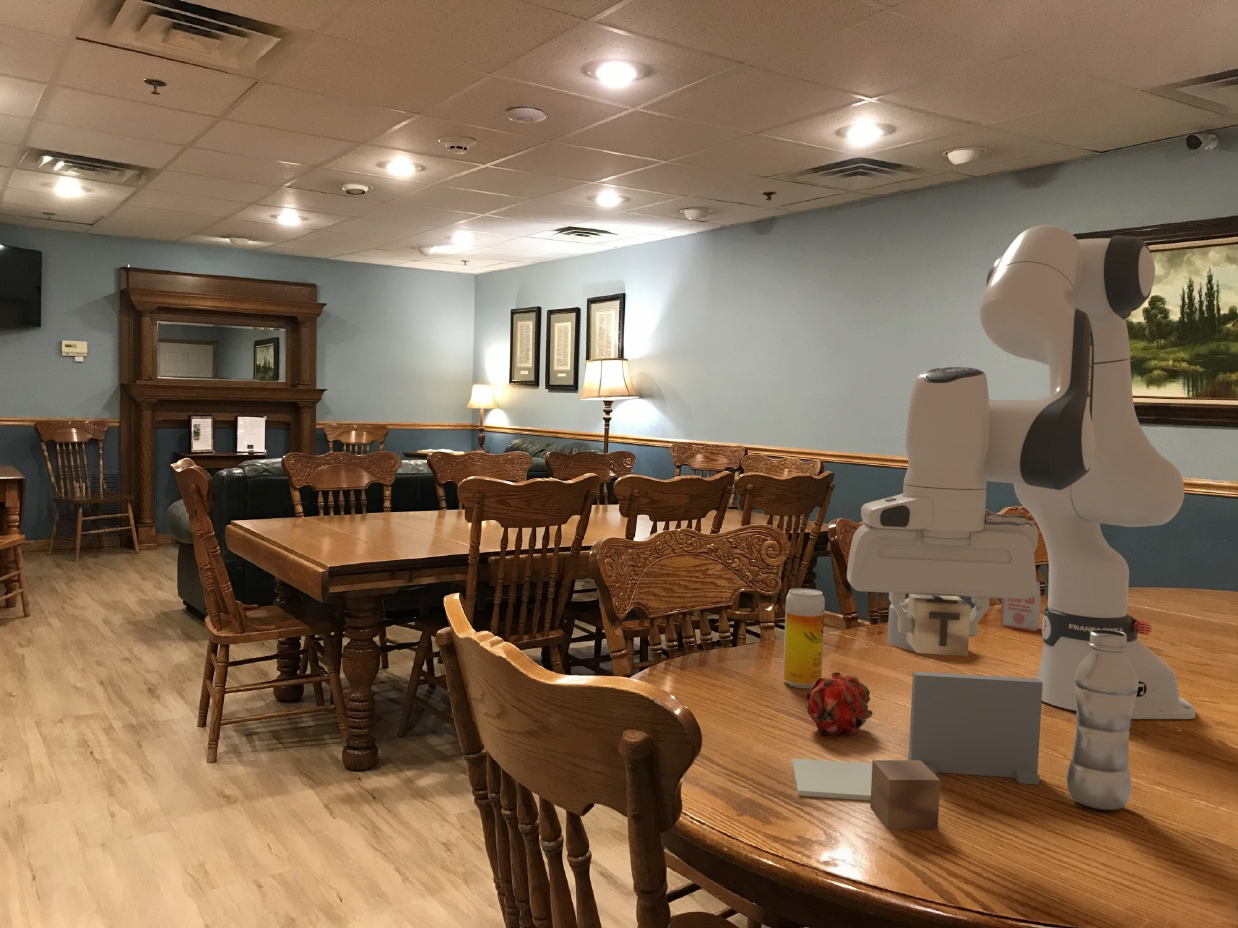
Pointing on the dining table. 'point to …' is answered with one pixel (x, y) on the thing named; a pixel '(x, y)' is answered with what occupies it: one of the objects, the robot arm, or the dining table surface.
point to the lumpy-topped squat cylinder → (893, 633)
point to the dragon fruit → (838, 704)
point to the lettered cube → (939, 624)
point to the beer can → (803, 637)
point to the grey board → (976, 724)
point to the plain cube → (905, 795)
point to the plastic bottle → (1103, 723)
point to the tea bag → (1022, 612)
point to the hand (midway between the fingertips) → (936, 633)
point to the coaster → (833, 779)
